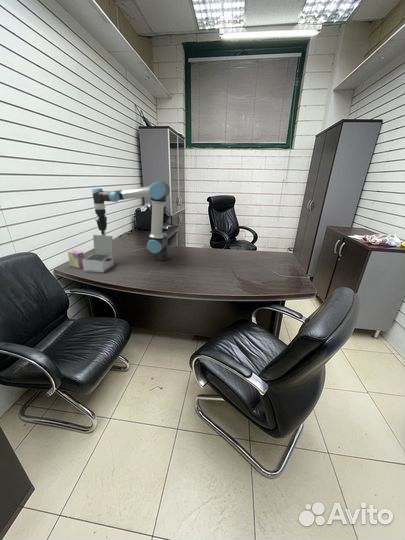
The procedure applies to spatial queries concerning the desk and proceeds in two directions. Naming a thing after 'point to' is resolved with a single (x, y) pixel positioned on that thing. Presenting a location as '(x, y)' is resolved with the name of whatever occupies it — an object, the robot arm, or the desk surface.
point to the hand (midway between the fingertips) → (104, 237)
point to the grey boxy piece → (98, 263)
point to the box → (76, 258)
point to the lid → (103, 244)
